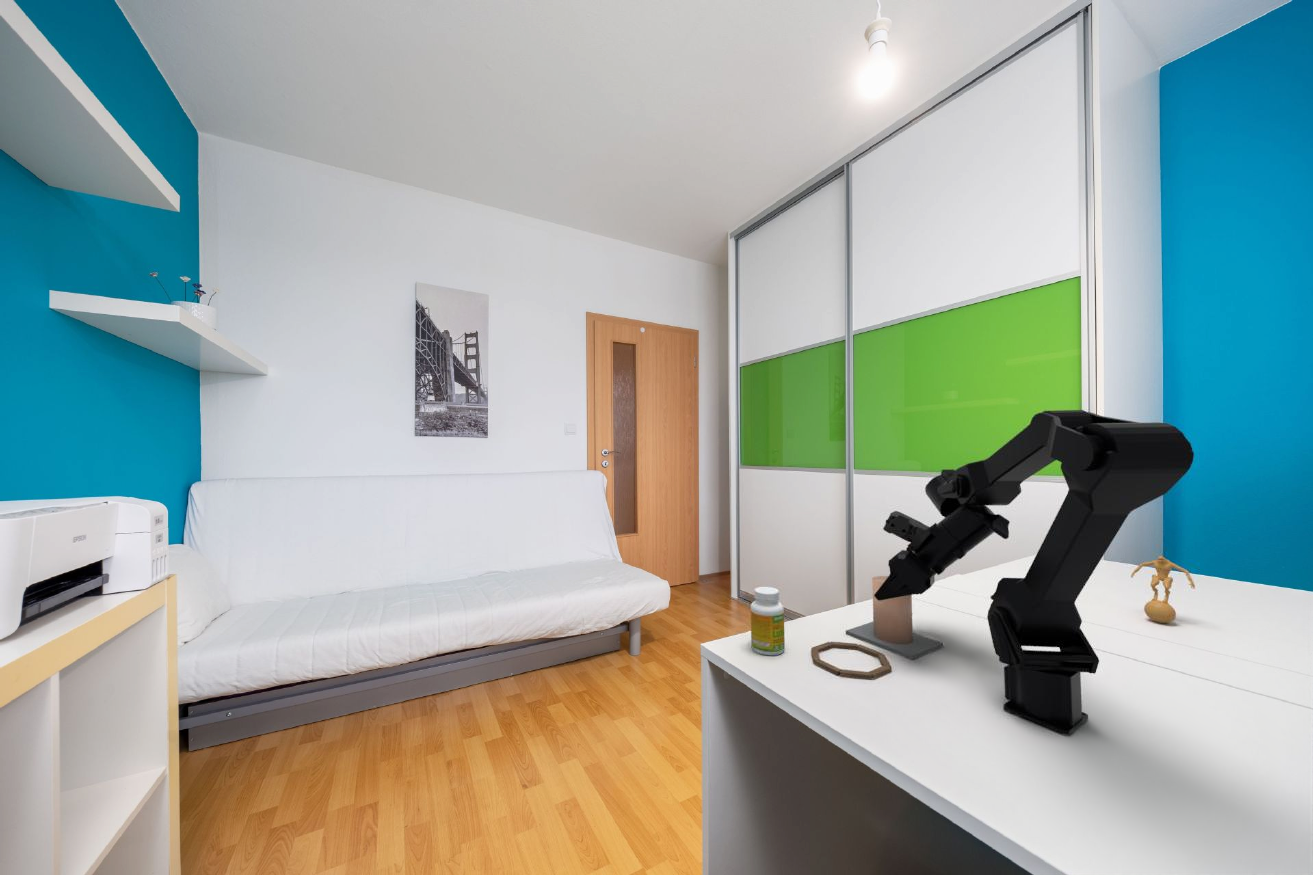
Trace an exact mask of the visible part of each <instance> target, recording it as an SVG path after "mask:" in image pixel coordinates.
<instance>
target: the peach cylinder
mask: <svg viewBox="0 0 1313 875" xmlns="http://www.w3.org/2000/svg"><path fill="white" fill-rule="evenodd" d="M888 576H889V575H877V576H873V577H872V579H871V581H872V583H871V584H872V585H871V586H872V587H871V588H872V620H873V621H872V622H873V628H874V636H875V637H876V638H878V639H880V640H882V641H885V642H889V643H895V644H907V643H911V642H912V641H913V633H914V631H913V629H914V628H913V601H912V600H913V598H912V595H907V596H901V597H896V598H891V599H886V600H881V601H878V600H877V599H876V598H875V596H874V594H875V593H876V592H877V591H878V589H879V588H880V587H881V585H882V584H883V583H884V581H885V580H886V579H887V578H888Z"/></svg>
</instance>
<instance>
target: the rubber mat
mask: <svg viewBox="0 0 1313 875" xmlns="http://www.w3.org/2000/svg"><path fill="white" fill-rule="evenodd" d="M845 634H846V635H847V636H849V637H853V638H856V639H858V640H860V641H863V642H866V643H868V644H871V645H873V646H876V647H878V648H881V649H883V650H885V651H889V652H892V653H894V654H896V655H898V656H899V655H900V656H902V657H905V658H907V659H909V660H915V659H918V658H920V657H923V656H924V655H927V654H929V653H931V652H934V651H936V650H939V649H941V648H943V647H944V642H942V641H938V640H936V639H933V638H930V637H927V636H924V635H921V634H918V633H916V632H913V641H912V642H911V643H907V644H895V643H889V642H885V641H882V640H880V639H878V638H876V637H875V636H874V628H873V621H870V622H867V623H865V624H864V623H863V624H861V625H858V626H856V627H852V628H850V629H846V630H845Z"/></svg>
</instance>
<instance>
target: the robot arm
mask: <svg viewBox="0 0 1313 875" xmlns="http://www.w3.org/2000/svg"><path fill="white" fill-rule="evenodd" d="M1194 458H1195V453H1194V451H1193V447H1192V445H1191V442H1190V441H1189V440H1188V439H1187V438H1186V435H1185V434H1184V433H1183V432H1182V431H1181V430H1180V429H1179V428H1177V426H1175V425H1173V424H1170V423H1168V422H1155V421H1154V422H1153V421H1152V422H1140V421H1139V422H1138V421H1132V420H1126V419H1121V418H1115V417H1109V416H1103V415H1101V414H1097V413H1094V412H1091V411H1085V410H1084V409H1067V410H1065V409H1061V410H1060V409H1059V410H1058V409H1057V410H1056V409H1055V410H1043V411H1042V412H1038V413H1036V414H1034V415H1033V416H1032V417H1031V421H1030V423H1029V424H1028V425H1027V426H1026V427H1024V428H1023V429H1022V430H1021V431H1019V432H1018V433H1017V434H1016V435H1015V436H1013V437H1012V438H1011V439H1009V441H1007V442H1006V443H1005V444H1003V445H1001V447H1000V448H998V450H996V451H995V452H994V453H993V454H991V455H990V456H988V457H987V458H985V459H983V460H978V461H973V462H969V463H966V464H964V465H962V466H960V467H958V468H956V469H941V471H940V472H941V473H940V474H939V475H936V476H934V477H933V478H931V480H929V481H928V483H927V484H926V485H925V488H924V491H925V495H926V496H927V498H928V499H930V500H929V501H931V503H932V504H933V505H934V506H935V508H936V509H937V511H938V512H939V513H940V515H941V516H942V517H944V518H943V519H942V520H940V521H939V522H938V523H937V522H935V523H933V524H932V525H930V526H929V525H926V524H924V523H923V522H921V521H920V520H917V519H915V518H914V517H911V516H909V515H907V514H905V513H902V512H900V511H897V510H895V511H892V512H890V514H889V516H888V518H887V519H886V520H885V524H884V526H883V528H882V530H883V531H884V532H886V533H888V534H892V535H895V536H896V537H898V538H900V539H902V540H904V541H905V542H908V544H907V547H906V550H905V549H902V550H900V551H899V552H898V553H896V554H895V555H894V556H892V557H891V559H889V560H888V562H887V563H888V568H889V574H888V575H887V576H888V578H887V579H886V580H885V581H884V583H883V584H882V585H881V587H880V588H879V589H878V591H877V592H876V593H875V594H874V596H875V598H876V599H877V600H878V601H881V600H886V599H891V598H896V597H901V596H907V595H922V594H924V593H925V592H927V591H928V590H929V589H931V587H933V585H934V584H935V579H936V578H935V576H936V575H937V576H940V575H941V574H943V573H944V571H945V570H946V569H947V568H948V567H950V566H951V565H953V564H954V563H955V562H956V561H958V560H961V559H962V558H963V557H965V556H966V555H967V553H968V552H970V551H971V550H972V549H974V548H975V547H977V546H978V545H979V544H981V543H982V542H983V541H985V540H986V539H988V537H990V536H992V535H993V534H994V533H995V534H996V535H998V536H999V537H1001V538H1002V539H1004V540H1007V539H1009V538H1010V536H1009V534H1010V531H1009V526H1010V523H1011V521H1010V520H1009V519H1007V518H1005V517H1004V516H1003V515H1001V514H999V513H998V514H995V512H993V510H991V508H990V507H988V506H1009V505H1010V504H1011V503H1012V502H1013V501H1014V500H1015V499H1016V498H1018V496H1019V495H1020V494H1021V493H1022V488H1021V484H1022V483H1023V482H1025V481H1026V480H1027V479H1029V478H1030V477H1032V476H1033V475H1035V474H1036V473H1038V472H1040V471H1042V470H1043V469H1044V468H1046V467H1047V466H1049V465H1051V464H1052V463H1053V462H1056V461H1058V462H1060V463H1061V464H1060V470H1061V473H1062V474H1063V477H1064V480H1065V482H1066V484H1067V488H1068V491H1067V494H1066V495H1065V498H1064V500H1063V502H1062V503H1061V506H1060V507H1059V509H1058V512H1057V513H1056V516H1055V518H1054V520H1053V521H1052V523H1051V525H1050V527H1049V529H1048V531H1047V533H1046V535H1045V537H1044V539H1043V541H1042V543H1041V545H1040V547H1039V549H1038V551H1037V553H1036V555H1035V557H1034V559H1033V561H1032V563H1031V565H1030V567H1029V569H1028V571H1027V573H1026V575H1025V577H1002V578H1001V579H1000V580H999V581H998V582H997V586H996V589H995V591H994V593H993V594H992V595H990V599H991V600H993V601H992V602H991V604H990V606H989V609H988V612H987V616H986V617H987V621H988V628H989V632H990V636H991V640H992V646H993V649H994V653H995V655H996V656H997V657H998V661H999V662H1000V663H1001V664H1003V665H1006V666H1004V667H1003V679H1004V680H1003V681H1004V685H1003V686H1004V698H1005V699H1006V700H1007V702H1005V703H1003V705H1002V707H1003V709H1004V711H1006V712H1009V713H1012V714H1015V715H1017V716H1019V717H1022V718H1024V719H1027V720H1029V721H1032V722H1034V723H1036V724H1038V725H1041V726H1044V727H1046V728H1048V729H1050V730H1053V731H1056V732H1058V733H1060V734H1064V735H1067V736H1068V735H1071V734H1072V733H1073V732H1075V731H1076V730H1077V729H1078V728H1079V727H1081V726H1082V725H1083V724H1084V723H1085V722H1087V721H1088V720H1089V714H1087V713H1086V712H1083V706H1082V705H1083V704H1082V682H1081V680H1082V676H1081V673H1089V674H1094V675H1095V674H1096V673H1097V670H1098V667H1099V663H1100V660H1099V656H1098V655H1097V654H1096V652H1095V650H1094V648H1093V647H1092V645H1091V644H1090V642H1089V639H1087V637H1086V635H1085V634H1084V632H1083V631H1082V629H1081V625H1082V623H1083V621H1082V618H1081V615H1080V612H1079V610H1078V607H1077V605H1076V600H1077V599H1078V597H1079V595H1080V594H1081V592H1082V590H1084V587H1085V586H1086V584H1087V583H1088V581H1089V580H1090V577H1091V576H1092V574H1093V573H1094V571H1095V570H1096V568H1097V567H1098V565H1099V563H1100V561H1101V560H1102V558H1103V557H1104V555H1105V554H1106V552H1107V550H1108V549H1109V547H1110V546H1111V544H1112V542H1113V540H1114V539H1115V538H1116V536H1117V535H1118V532H1119V531H1120V530H1121V528H1122V526H1123V524H1124V523H1125V521H1126V519H1127V518H1128V517H1129V514H1130V513H1132V512H1133V511H1134V510H1137V509H1139V508H1141V507H1143V506H1144V505H1147V504H1148V503H1150V502H1152V501H1154V500H1156V499H1158V498H1160V497H1162V496H1164V495H1166V494H1167V493H1168V492H1169V491H1170V490H1171V489H1172V488H1173V487H1174V486H1175V485H1176V484H1178V482H1179V481H1180V480H1182V478H1183V477H1185V475H1186V474H1187V473H1188V471H1189V470H1190V469H1191V467H1192V465H1193V463H1194ZM1022 647H1035V648H1036V647H1039V648H1040V647H1042V648H1059V651H1057V650H1033V649H1032V650H1031V649H1030V650H1029V649H1023V648H1022Z"/></svg>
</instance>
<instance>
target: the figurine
mask: <svg viewBox="0 0 1313 875" xmlns="http://www.w3.org/2000/svg"><path fill="white" fill-rule="evenodd" d="M1146 566H1154V569H1155V571H1156V573H1157V575H1156V574H1155V573H1154V574H1152V575H1151V582H1150V587H1151V589H1152V591H1153V592H1154V595H1153V597H1152V598H1151V600H1149V601H1147V602H1146V603H1145V605H1144V607H1143V610H1144V613H1145V615H1146V616H1147V617H1148V618H1149V619H1150V620H1152V621H1154V622H1156V623H1160V624H1168V623H1171V622H1173V621H1174V620H1175V619H1176V616H1177V612H1176V610H1175V608H1174V607H1173V606H1172V605H1171V604H1170V603H1169V598H1170V594H1171V591H1170V589H1171V588H1172V585H1173V584H1172V583H1173V581H1174V578H1173V577H1172V576H1169V575H1170V573H1171V571H1172V569H1176V570H1178V571H1180V572H1182V573H1185V576H1186V577H1187V580H1188V581H1189V582H1190V583H1189V584H1188V585H1189V586H1190V585H1191V586H1190V588H1191V589H1195V588H1196V587H1195V586H1196V585H1195V583H1194V580H1193V578H1192V576H1191V573H1190V572H1189V571H1188V570H1187V569H1185V568H1183V567H1181V566H1179V565H1178V564H1176V563H1174V562H1171V561H1170V560H1169V559H1166V558H1165V557H1164V556H1162V555H1160V556H1158V557H1157V559H1155V560H1151V561H1145V562H1142V563H1140V564H1139V565H1138V566H1137V567H1136V568H1135V569H1134V570H1133V572H1132V573H1131V576H1130V578H1131V579H1132V578H1134V576H1135V574H1137V572H1139V571H1140V570H1141V569H1142V568H1143V567H1146ZM1160 582H1162V586H1164V593H1165V595H1164V598H1163V600H1159V599H1158V596H1159V590H1158V588H1157V587H1156V586H1158V585H1160Z"/></svg>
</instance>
